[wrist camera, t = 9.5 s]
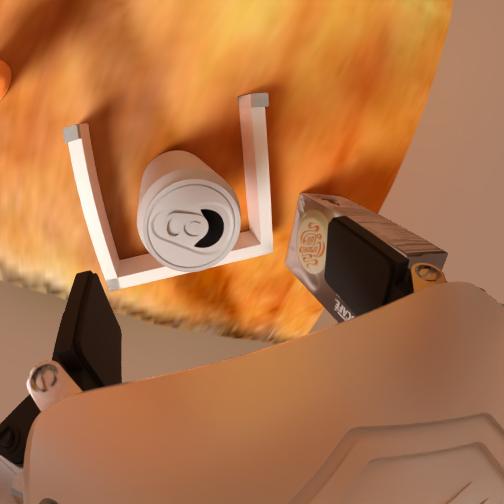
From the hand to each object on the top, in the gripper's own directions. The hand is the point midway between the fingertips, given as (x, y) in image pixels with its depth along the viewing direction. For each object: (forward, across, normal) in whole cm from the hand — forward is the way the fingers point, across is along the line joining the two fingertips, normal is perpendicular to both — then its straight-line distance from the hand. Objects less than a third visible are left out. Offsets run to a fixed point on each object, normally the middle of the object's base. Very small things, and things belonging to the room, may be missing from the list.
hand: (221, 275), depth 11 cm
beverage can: (+18, 0, +1) cm, 18 cm away
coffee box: (+18, -14, +9) cm, 25 cm away
